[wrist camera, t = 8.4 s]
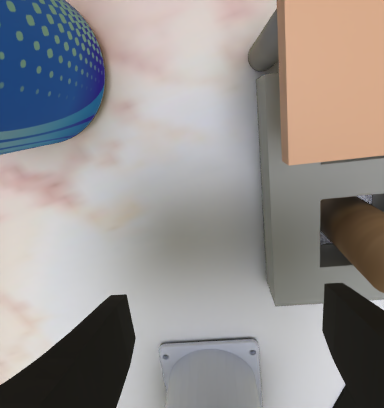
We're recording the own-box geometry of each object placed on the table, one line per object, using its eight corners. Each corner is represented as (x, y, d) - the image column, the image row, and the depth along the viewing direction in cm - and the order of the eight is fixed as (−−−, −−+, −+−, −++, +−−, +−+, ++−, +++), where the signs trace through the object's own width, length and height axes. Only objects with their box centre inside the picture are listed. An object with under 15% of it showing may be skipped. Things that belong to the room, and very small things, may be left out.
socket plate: (408, 270, 21) (439, 295, 18) (266, 281, 22) (275, 306, 19) (431, 56, 17) (476, 45, 14) (255, 79, 18) (264, 74, 15)
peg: (363, 232, 20) (438, 291, 14) (315, 238, 21) (366, 299, 14) (362, 188, 20) (442, 228, 13) (313, 195, 20) (366, 238, 13)
